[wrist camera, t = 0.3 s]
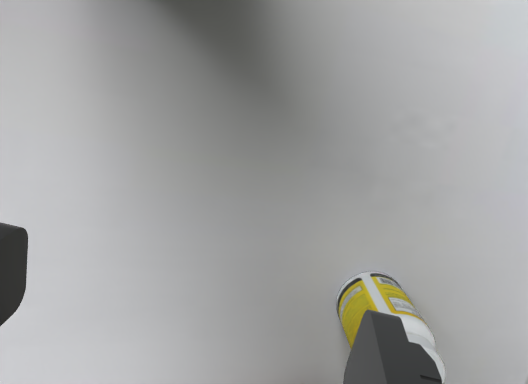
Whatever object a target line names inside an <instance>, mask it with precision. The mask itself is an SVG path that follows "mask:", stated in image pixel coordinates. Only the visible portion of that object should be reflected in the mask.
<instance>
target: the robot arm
mask: <svg viewBox="0 0 528 384" xmlns="http://www.w3.org/2000/svg"><path fill="white" fill-rule="evenodd" d="M27 250H28V234H27V231H26V230H25V229H24V228H21V227H17V226H13V225H9V224H4V223H0V326H1V325H2V324H3V323H4V322H5V321H6V320H7V319H8V318H9V317H10V316H12V315H13V314H14V312H15V311H16V310H17V309H18V307H19V305H20V303H21V301H22V299H23V296H24V293H25V288H26V272H27ZM343 384H442V378H441V376H440V373H439V371H438V368H437V365H436V363H435V361H434V360H433V359H432V358H431V357H430V355H429V354H428V353H427V352H426V351H425V350H424V348H423V347H422V346H421V345H420V344H417V343H413V342H409V341H408V338H407V335H406V332H405V329H404V326H403V323H402V320H401V318H400V317H399V316H394V315H390V314H386V313H381V312H377V311H373V310H369V309H368V310H366V311H365V313H364V315H363V317H362V320H361V322H360V325H359V328H358V331H357V334H356V337H355V340H354V343H353V346H352V349H351V352H350V355H349V358H348V361H347V364H346V368H345V373H344V381H343Z"/></svg>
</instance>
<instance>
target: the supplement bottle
mask: <svg viewBox="0 0 528 384" xmlns="http://www.w3.org/2000/svg"><path fill="white" fill-rule="evenodd" d="M336 306H337V312H338V316H339V318H340V321H341V323H342V326H343V329H344V331H345V334H346V337H347V339H348V342H349V345H350V347H351V349H352V346H353V343H354V340H355V337H356V334H357V331H358V328H359V325H360V322H361V320H362V317H363V315H364V313H365V311H366V310H368V309H369V310H373V311H377V312H381V313H386V314H390V315H394V316H399V317H400V318H401V320H402V323H403V326H404V329H405V332H406V335H407V338H408V341H409V342H413V343H417V344H420V345H421V346H422V347H423V348H424V350H425V351H426V352H427V353H428V354H429V355H430V357H431V358H432V359H433V360H434V361H435V363H436V365H437V368H438V371H439V373H440V376H441V378H442V384H444V380H445V367H444V363H443V361H442V359H441V358H440V356H439V354H438V353H437V350H436V344H435V340H434V336H433V334H432V332H431V330H430V329H429V327H428V326H427V324H426V323H425V321H424V320H423V319H422V317H421V316H420V314H419V313H418V311H417V310H416V308H415V307H414V306H413V304H412V303H411V301H410V300H409V298H408V297H407V296H406V294H405V293H404V291H403V290H402V289H401V287H400V286H399V284H398V283H397V282H396V281H395V280H394V279H393V278H392V277H390V276H389V275H387V274H384V273H381V272H375V271H370V272H364V273H361V274H358V275H356V276H354V277H352V278H351V279H349V280H348V281H347V282H346V283H345V284H344V285H343V286H342V287H341V289H340V291H339V293H338V296H337V302H336Z"/></svg>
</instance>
